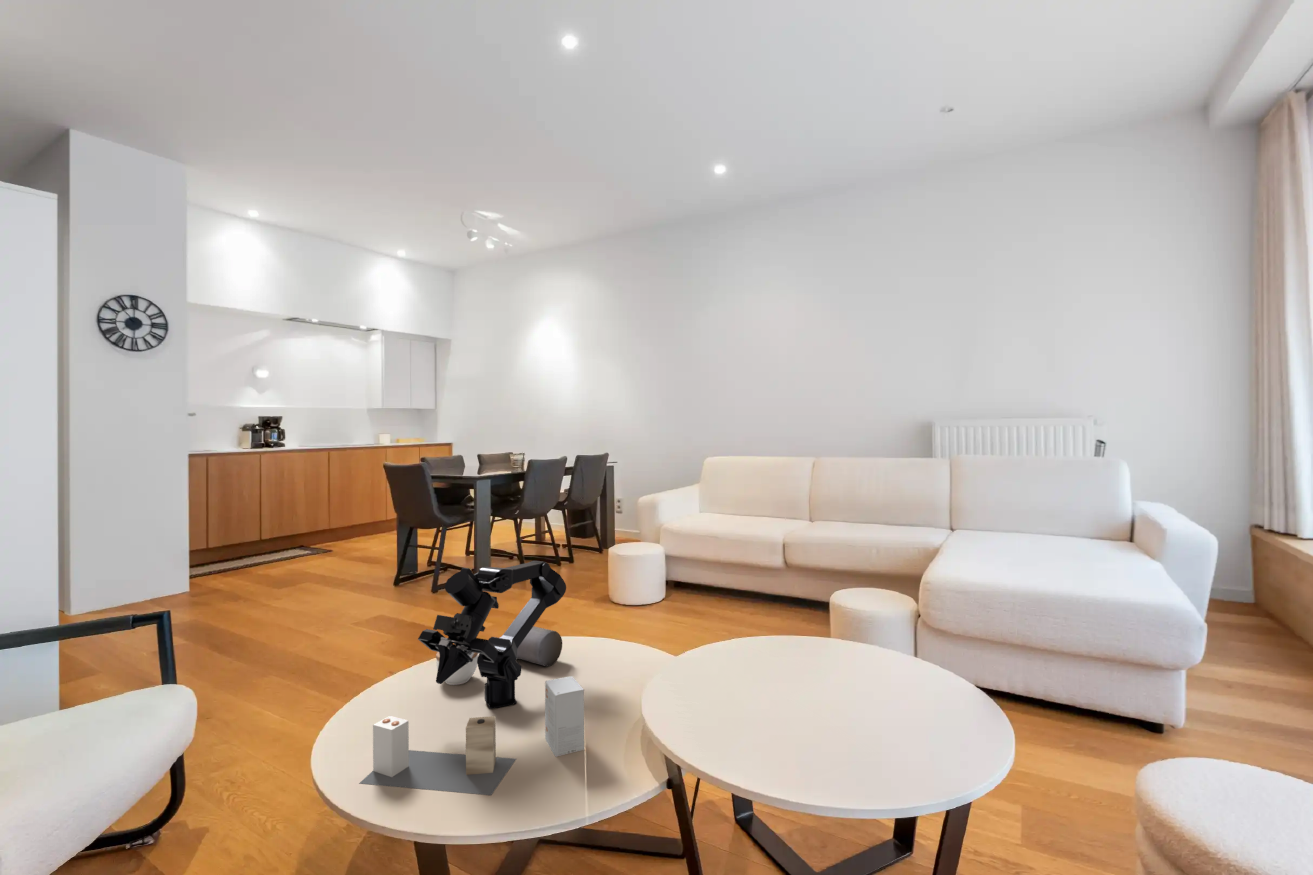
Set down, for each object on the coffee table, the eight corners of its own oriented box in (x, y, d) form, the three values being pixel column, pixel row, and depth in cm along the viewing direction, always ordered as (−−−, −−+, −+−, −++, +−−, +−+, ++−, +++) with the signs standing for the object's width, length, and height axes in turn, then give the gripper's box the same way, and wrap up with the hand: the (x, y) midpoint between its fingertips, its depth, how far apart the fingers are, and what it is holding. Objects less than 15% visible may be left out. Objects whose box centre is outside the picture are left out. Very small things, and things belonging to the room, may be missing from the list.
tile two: (390, 760, 117) (389, 714, 117) (408, 766, 115) (408, 719, 115) (373, 770, 113) (372, 723, 113) (391, 777, 111) (391, 728, 111)
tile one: (469, 762, 116) (469, 716, 116) (495, 761, 117) (495, 714, 117) (466, 774, 112) (465, 726, 112) (492, 772, 113) (492, 724, 113)
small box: (585, 752, 121) (584, 689, 121) (555, 759, 118) (554, 695, 118) (573, 734, 128) (572, 674, 128) (544, 740, 126) (544, 680, 125)
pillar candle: (564, 657, 171) (527, 647, 179) (561, 625, 170) (524, 617, 178) (540, 672, 163) (503, 661, 171) (537, 639, 162) (499, 629, 170)
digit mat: (516, 761, 118) (516, 758, 118) (491, 798, 106) (491, 794, 106) (396, 751, 121) (396, 748, 121) (359, 786, 109) (359, 783, 109)
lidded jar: (458, 669, 164) (458, 635, 164) (486, 676, 159) (486, 642, 159) (427, 683, 155) (426, 648, 155) (456, 692, 150) (456, 655, 150)
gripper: (423, 593, 134) (384, 659, 124) (488, 603, 126) (451, 674, 116) (449, 617, 141) (414, 681, 131) (512, 628, 133) (479, 696, 124)
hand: (438, 682), depth 125 cm, fingers closed
